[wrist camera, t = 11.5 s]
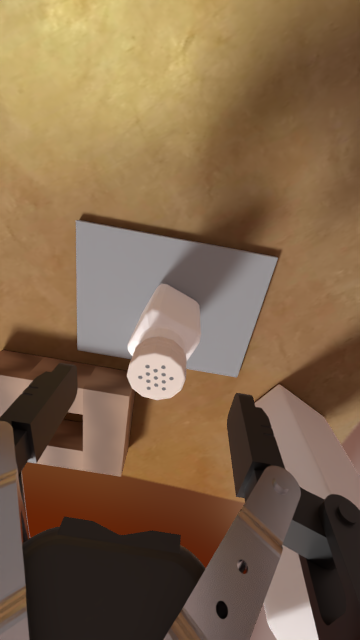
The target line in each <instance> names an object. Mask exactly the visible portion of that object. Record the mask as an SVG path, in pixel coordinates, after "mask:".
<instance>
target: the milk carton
mask: <svg viewBox="0 0 360 640" xmlns="http://www.w3.org/2000/svg"><path fill="white" fill-rule="evenodd" d="M255 407H259V408H262V409H263V411H264V412H265V413H266V414H267V416H268V417H269V420H270V423H271V426H272V427H271V428H272V430H273V433H274V437H275V439H276V442H277V445H278V448H279V451H280V454H281V457H282V460H283V463H284V466H285V469H286V470H287V471H288V472H289V473H291V474H292V475H293V477H294V478H295V479H296V481H297V482H298V484H299V486H300V487H301V488H303V489H305V490H306V491H308V492H310V493H312V494H315V495H317V496H319V497H321V498H323V499H325V498H326V497H327V496H328V495H330V494H337V495H341V496H343V497H345V498H347V499H348V500H350V501H351V502H352V503H353V504H354V505H356V507H357V508H358V509H359V510H360V475H359V474H358V472H357V470H356V469H355V467H354V465H353V464H352V462H351V461H350V459H349V457H348V456H347V454H346V452H345V451H344V449H343V447H342V446H341V444H340V442H339V441H338V439H337V437H336V436H335V434H334V432H333V431H332V429H331V427H330V426H329V424H328V422H327V421H326V419H325V418H324V417H323V416H322V415H321V414H319V413H318V412H317V411H315V410H314V409H313V408H311V407H310V406H308V405H307V404H306V403H304V402H303V401H302V400H300V399H299V398H298V397H296V396H295V395H294V394H292V393H291V392H290V391H288V390H287V389H285V388H284V387H283V386H281V385H280V384H279V385H277V386H276V387H274V388H273V389H272V390H271V391H269V392H268V393H267V394H266V395H264V396H263V397H262V398H260V399H259V400H258V401H257V402H255ZM282 547H283V551H282V554H281V557H280V560H279V563H278V565H277V568H276V571H275V573H274V576H273V579H272V581H271V584H270V587H269V589H268V592H267V595H266V597H265V600H264V607H265V612H266V617H267V623H268V625H269V627H270V628H271V630H272V632H273V634H274V636H275V637H276V639H277V640H319V639H318V635H317V630H316V626H315V622H314V618H313V614H312V610H311V605H310V601H309V597H308V593H307V589H306V584H305V580H304V576H303V572H302V568H301V563H300V559H299V555H298V553H296V552H294V551H292V550H291V549H289V548H287V547H285V546H284V545H282Z"/></svg>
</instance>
